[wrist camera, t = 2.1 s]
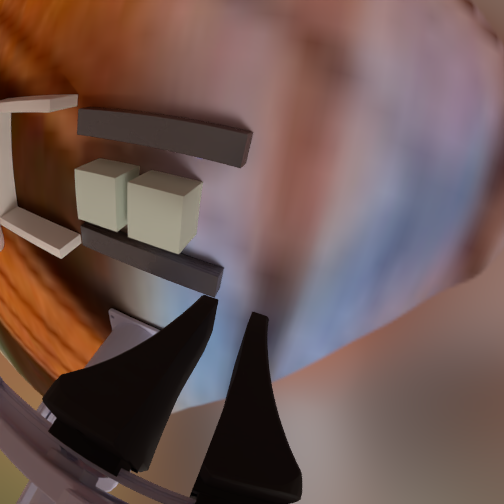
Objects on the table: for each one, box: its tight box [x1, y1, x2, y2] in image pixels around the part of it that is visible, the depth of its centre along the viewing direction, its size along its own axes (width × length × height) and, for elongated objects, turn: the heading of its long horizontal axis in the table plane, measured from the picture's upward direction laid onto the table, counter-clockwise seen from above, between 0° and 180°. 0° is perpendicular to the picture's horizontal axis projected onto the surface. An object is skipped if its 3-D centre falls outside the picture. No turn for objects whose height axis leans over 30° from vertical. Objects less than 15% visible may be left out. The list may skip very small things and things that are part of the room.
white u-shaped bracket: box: [0, 94, 81, 259], centre depth 19 cm, size 14×13×3 cm
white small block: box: [127, 170, 203, 254], centre depth 18 cm, size 4×4×3 cm
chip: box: [75, 158, 140, 232], centre depth 19 cm, size 4×4×3 cm
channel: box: [77, 107, 253, 297], centre depth 19 cm, size 12×13×1 cm
